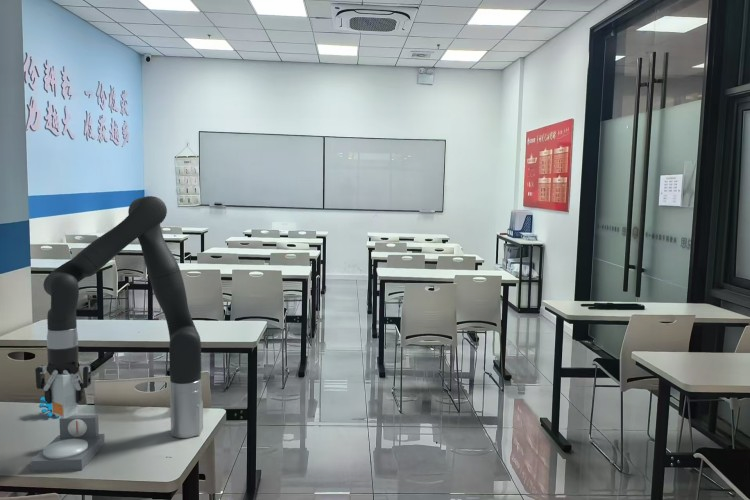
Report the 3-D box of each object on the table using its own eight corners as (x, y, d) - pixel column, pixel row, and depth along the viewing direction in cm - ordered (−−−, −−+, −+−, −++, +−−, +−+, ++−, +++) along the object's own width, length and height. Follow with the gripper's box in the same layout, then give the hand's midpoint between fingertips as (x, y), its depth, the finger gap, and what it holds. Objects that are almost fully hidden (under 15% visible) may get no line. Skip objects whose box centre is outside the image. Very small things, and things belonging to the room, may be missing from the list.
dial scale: (104, 443, 172) (103, 414, 171) (82, 470, 155) (81, 438, 154) (59, 444, 171) (58, 415, 170) (31, 471, 154) (30, 439, 153)
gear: (41, 417, 187) (38, 390, 192) (36, 426, 190) (34, 399, 195) (77, 414, 195) (74, 388, 200) (72, 422, 198) (69, 396, 203)
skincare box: (51, 414, 159) (50, 372, 158) (66, 409, 163) (65, 368, 162) (63, 419, 156) (62, 376, 155) (78, 414, 160) (77, 372, 159)
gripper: (95, 340, 162) (96, 397, 164) (41, 341, 161) (43, 398, 162) (84, 347, 155) (86, 407, 156) (28, 348, 153) (30, 408, 155)
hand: (64, 402), depth 159 cm, fingers closed on skincare box, 7 cm apart
